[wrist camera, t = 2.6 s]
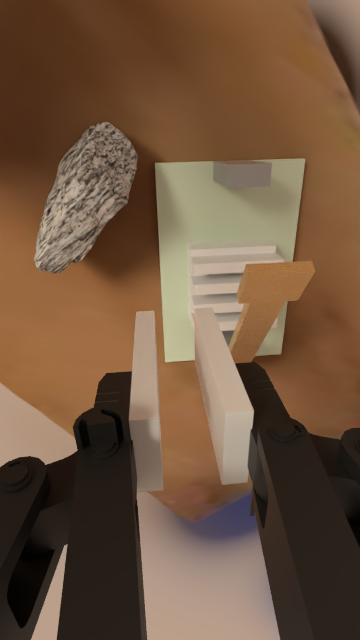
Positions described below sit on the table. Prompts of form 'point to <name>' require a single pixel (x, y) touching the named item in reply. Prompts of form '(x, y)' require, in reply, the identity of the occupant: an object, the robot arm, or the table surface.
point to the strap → (265, 302)
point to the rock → (85, 196)
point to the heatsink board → (221, 240)
